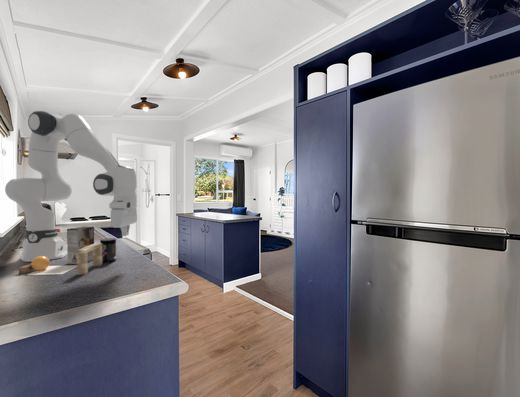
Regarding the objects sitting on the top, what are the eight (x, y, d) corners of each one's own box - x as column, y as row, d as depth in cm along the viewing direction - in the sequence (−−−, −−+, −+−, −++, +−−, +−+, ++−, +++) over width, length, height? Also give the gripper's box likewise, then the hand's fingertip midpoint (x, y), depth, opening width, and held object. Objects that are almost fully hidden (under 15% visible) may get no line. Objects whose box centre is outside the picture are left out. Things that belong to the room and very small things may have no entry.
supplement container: (103, 259, 132) (102, 238, 132) (118, 259, 134) (118, 237, 134) (97, 263, 126) (97, 240, 126) (113, 262, 127) (113, 240, 127)
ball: (34, 264, 116) (42, 251, 116) (48, 270, 117) (55, 258, 117) (24, 268, 110) (32, 255, 110) (38, 275, 111) (46, 262, 111)
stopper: (37, 266, 119) (37, 260, 119) (42, 266, 119) (42, 260, 119) (18, 274, 108) (18, 267, 108) (24, 274, 109) (24, 267, 108)
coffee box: (83, 259, 134) (83, 226, 133) (94, 259, 132) (94, 226, 132) (66, 263, 125) (66, 228, 124) (78, 264, 123) (78, 229, 123)
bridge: (77, 274, 108) (77, 250, 108) (95, 264, 123) (95, 243, 123) (85, 274, 109) (85, 250, 108) (102, 264, 123) (102, 243, 123)
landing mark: (47, 266, 120) (47, 265, 120) (79, 265, 121) (79, 265, 121) (26, 275, 107) (26, 274, 107) (62, 274, 108) (62, 273, 108)
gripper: (126, 202, 127) (126, 232, 127) (107, 204, 107) (107, 239, 107) (140, 202, 128) (140, 232, 128) (124, 204, 107) (124, 239, 108)
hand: (125, 235), depth 117 cm, fingers closed
